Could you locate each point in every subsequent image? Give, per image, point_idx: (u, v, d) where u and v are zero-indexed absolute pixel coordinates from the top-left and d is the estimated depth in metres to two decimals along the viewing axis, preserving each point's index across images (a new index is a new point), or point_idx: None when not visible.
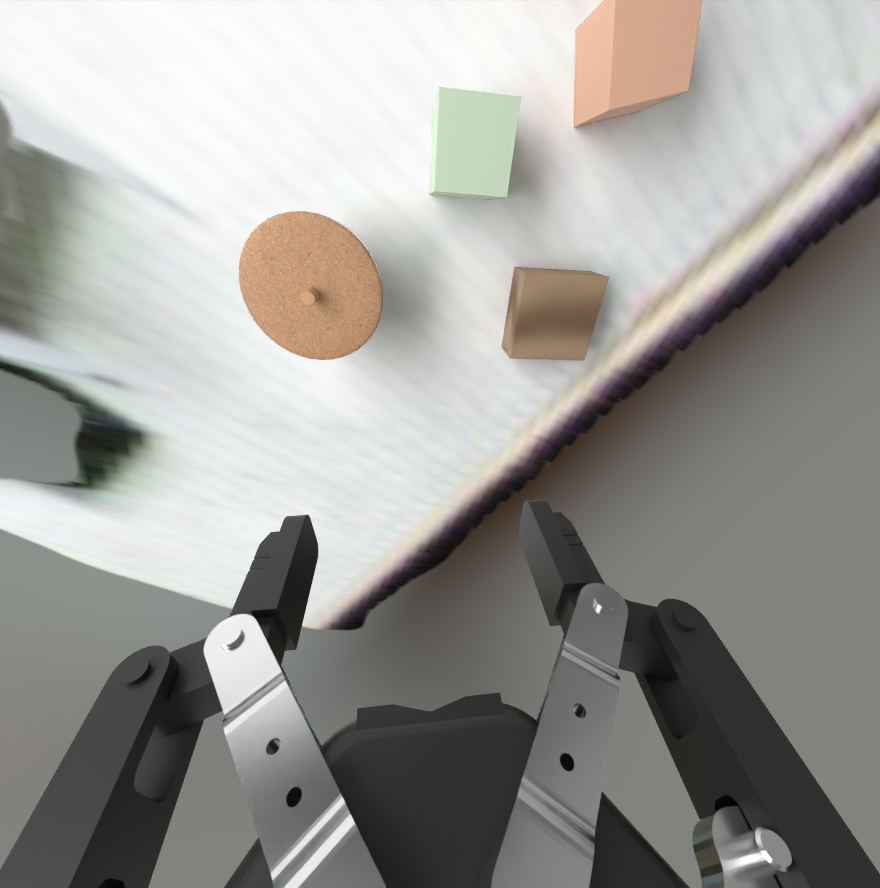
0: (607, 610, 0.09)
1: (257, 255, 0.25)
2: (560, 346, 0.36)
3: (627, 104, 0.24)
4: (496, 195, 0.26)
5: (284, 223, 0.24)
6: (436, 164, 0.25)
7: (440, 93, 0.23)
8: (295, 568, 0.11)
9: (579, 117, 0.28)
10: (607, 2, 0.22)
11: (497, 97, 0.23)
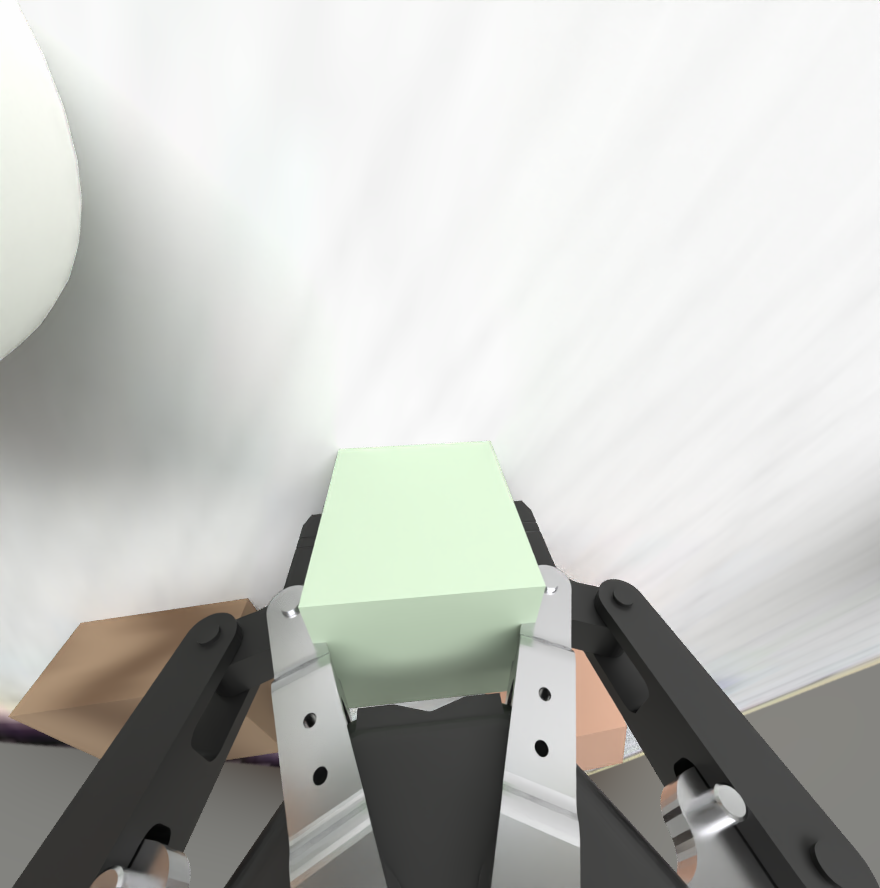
0: (551, 589, 0.09)
1: None
2: None
3: None
4: None
5: None
6: (371, 598, 0.08)
7: (532, 589, 0.08)
8: None
9: None
10: (608, 698, 0.15)
11: None
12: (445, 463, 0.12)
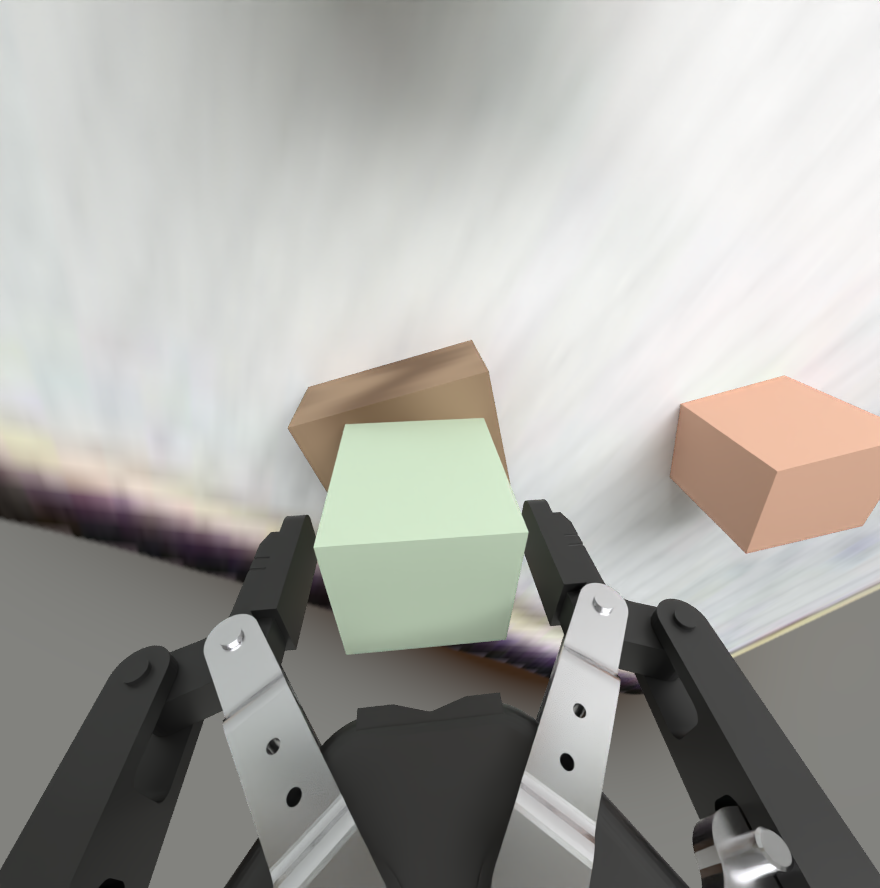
0: (607, 610, 0.09)
1: None
2: None
3: (770, 493, 0.15)
4: (344, 641, 0.11)
5: None
6: (376, 541, 0.09)
7: (516, 535, 0.09)
8: (295, 568, 0.11)
9: (702, 411, 0.18)
10: None
11: (506, 615, 0.11)
12: (442, 436, 0.13)
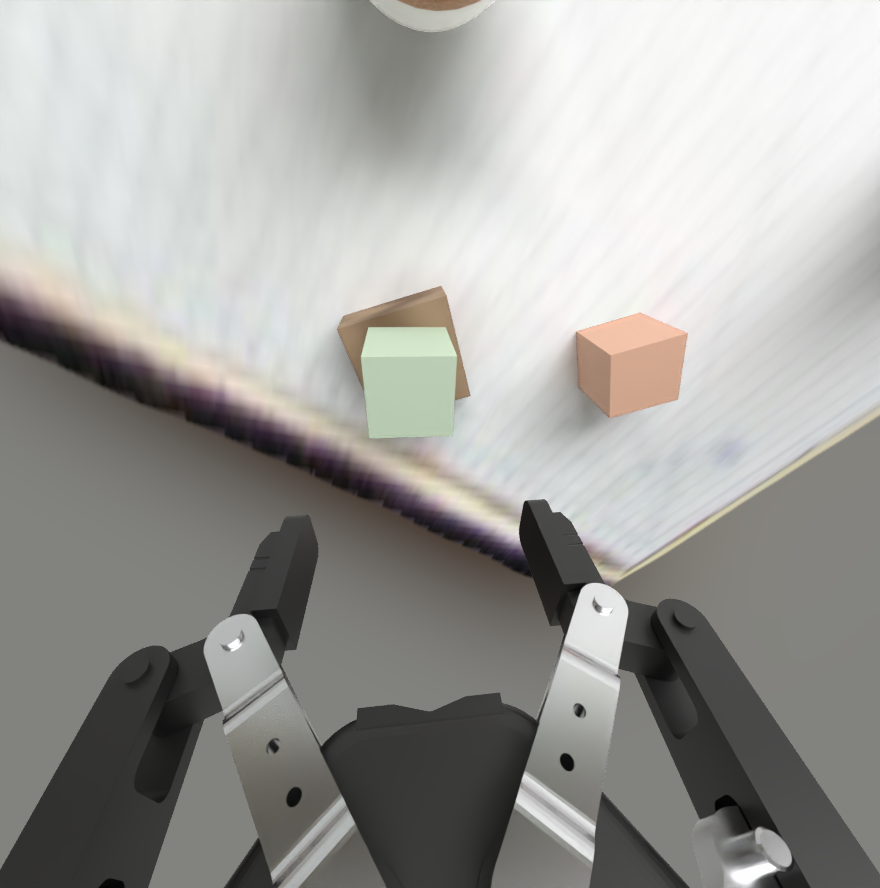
0: (607, 610, 0.09)
1: None
2: None
3: (611, 371, 0.26)
4: (369, 427, 0.22)
5: None
6: (388, 357, 0.20)
7: (451, 357, 0.20)
8: (295, 568, 0.11)
9: (586, 333, 0.29)
10: (674, 330, 0.26)
11: (451, 415, 0.22)
12: (421, 332, 0.24)
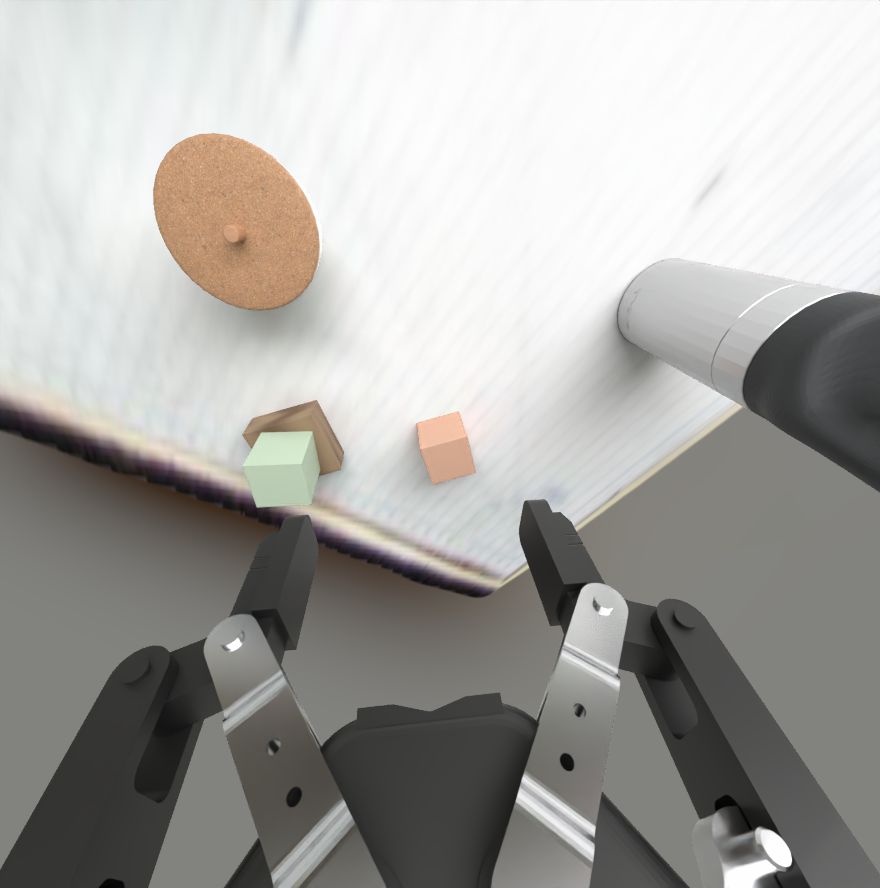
0: (607, 610, 0.09)
1: (261, 171, 0.23)
2: None
3: (423, 458, 0.40)
4: (255, 501, 0.36)
5: (301, 211, 0.25)
6: (259, 465, 0.34)
7: (298, 464, 0.34)
8: (295, 567, 0.11)
9: (420, 426, 0.43)
10: (463, 432, 0.40)
11: (306, 493, 0.36)
12: (293, 437, 0.38)
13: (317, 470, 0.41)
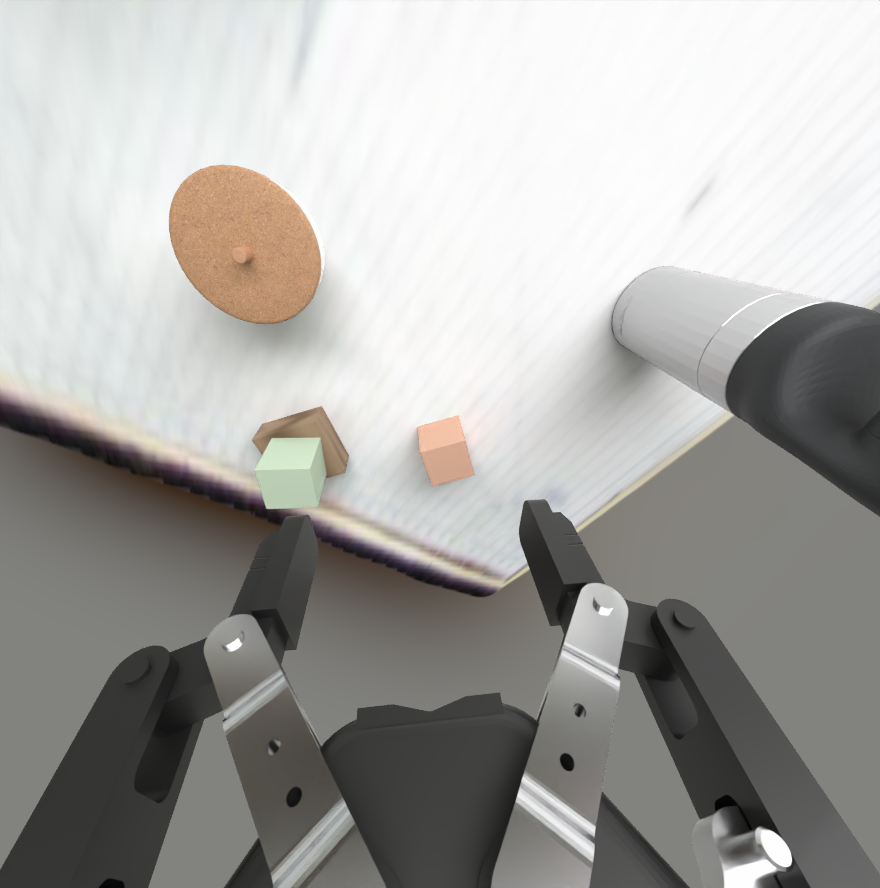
0: (607, 610, 0.09)
1: (267, 197, 0.25)
2: None
3: (423, 460, 0.42)
4: (265, 503, 0.38)
5: (303, 233, 0.26)
6: (270, 469, 0.36)
7: (307, 469, 0.36)
8: (295, 568, 0.11)
9: (421, 430, 0.45)
10: (461, 436, 0.42)
11: (314, 496, 0.38)
12: (302, 443, 0.40)
13: (324, 474, 0.43)
